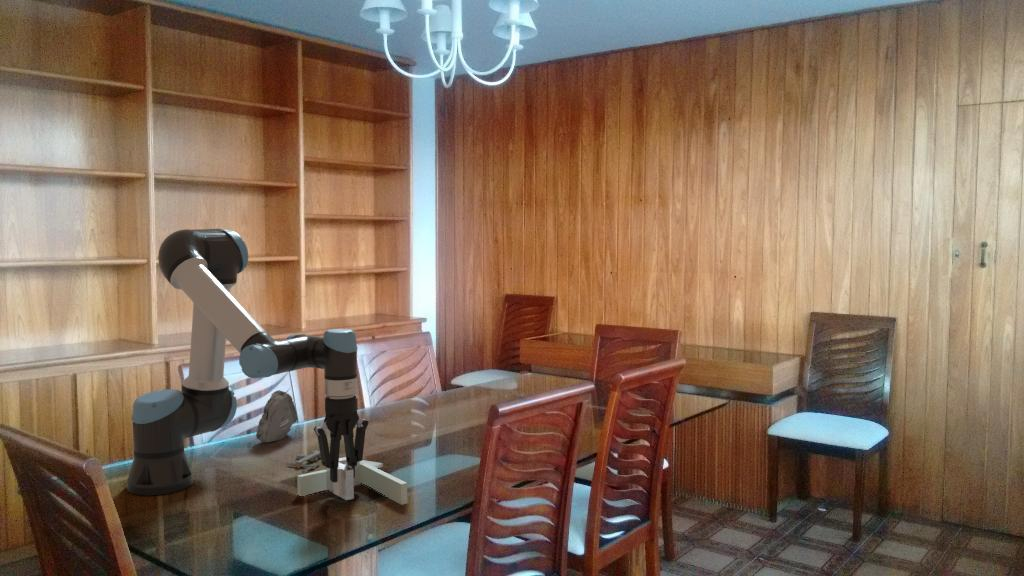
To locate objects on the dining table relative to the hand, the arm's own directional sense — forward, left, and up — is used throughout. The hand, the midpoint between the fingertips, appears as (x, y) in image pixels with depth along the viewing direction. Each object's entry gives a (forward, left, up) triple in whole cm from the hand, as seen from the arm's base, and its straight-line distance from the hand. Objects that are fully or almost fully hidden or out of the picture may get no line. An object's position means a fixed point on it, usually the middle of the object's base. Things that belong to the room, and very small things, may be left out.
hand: (342, 493), depth 190 cm
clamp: (+6, +34, -3) cm, 35 cm away
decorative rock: (+10, +62, -3) cm, 63 cm away
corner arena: (+3, +2, -2) cm, 4 cm away
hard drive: (+14, +20, -3) cm, 25 cm away
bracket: (+3, +2, -1) cm, 3 cm away
